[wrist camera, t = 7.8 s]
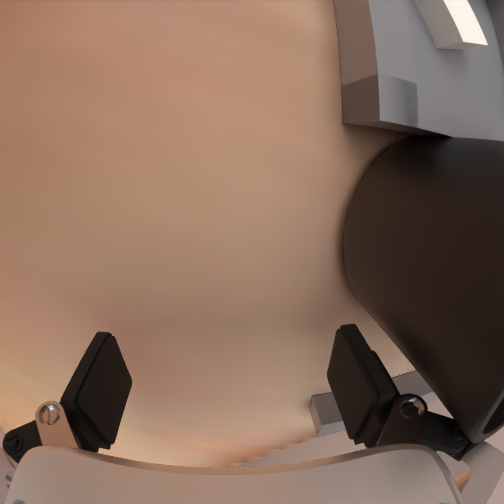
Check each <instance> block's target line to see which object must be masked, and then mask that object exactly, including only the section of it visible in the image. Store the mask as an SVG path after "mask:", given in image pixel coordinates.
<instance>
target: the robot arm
mask: <svg viewBox="0 0 504 504" xmlns="http://www.w3.org/2000/svg"><path fill="white" fill-rule="evenodd" d="M327 378H328V382H329V384H330V387H331V390H332V393H333V395H334V398H335V401H336V403H337V406H338V409H339V412H340V414H341V417H342V420H343V423H344V426H345V428H346V431H347V434H348V437H349V438H350V439H353V440H354V443H355V445H357V444H360V443H364V444H365V446H366V447H367V449H364V450H360V451H355V452H351V453H347V454H342V455H338V456H333V457H328V458H323V459H317V460H311V461H305V462H298V463H291V464H283V465H273V466H261V467H244V468H201V467H183V466H171V465H162V464H154V463H146V462H140V461H134V460H128V459H123V458H118V457H113V456H108V455H103V454H99V453H98V450H99V448H103V449H108V450H110V447H111V444H114V443H115V439H116V436H117V432H118V429H119V425H120V422H121V418H122V415H123V412H124V408H125V405H126V402H127V399H128V395H129V392H130V389H131V386H132V379H131V376H130V374H129V371H128V369H127V367H126V364H125V362H124V359H123V357H122V354H121V351H120V349H119V346H118V344H117V341H116V338H115V337H114V336H112V334H111V333H109V332H97V333H96V335H95V337H94V338H93V340H92V342H91V343H90V345H89V347H88V349H87V350H86V352H85V354H84V356H83V357H82V359H81V361H80V363H79V365H78V367H77V368H76V370H75V372H74V374H73V376H72V378H71V380H70V382H69V384H68V386H67V387H66V389H65V391H64V393H63V395H62V397H61V401H60V403H58V402H55V401H48V402H45V403H43V404H41V405H40V406H39V407H38V409H37V411H36V414H35V417H36V420H34V421H32V422H30V423H27V424H25V425H23V426H21V427H18V428H16V429H13V430H11V431H9V432H8V433H7V434H6V435H5V436H4V439H3V447H2V448H1V447H0V504H486V503H487V501H488V499H489V497H490V496H491V494H492V492H493V490H494V488H495V486H496V485H497V483H498V481H499V479H500V476H501V475H502V473H503V470H504V453H503V452H502V451H500V450H498V449H497V448H495V447H493V446H492V445H490V444H488V443H487V442H485V441H484V440H483V441H481V442H479V443H473V442H471V441H470V440H469V439H468V437H467V436H466V435H465V433H464V432H463V430H462V429H461V428H460V426H459V425H458V423H457V422H456V421H455V419H452V418H448V417H446V416H442V415H439V414H436V413H433V412H430V411H427V410H428V407H427V404H426V402H425V401H424V399H423V398H421V397H420V396H418V395H416V394H411V393H407V394H403V395H401V394H400V392H399V391H398V389H397V387H396V385H395V384H394V382H393V380H392V378H391V377H390V375H389V373H388V372H387V370H386V368H385V367H384V365H383V363H382V362H381V360H380V358H379V357H378V355H377V354H376V352H375V351H371V349H370V347H369V346H368V344H367V342H366V341H365V339H364V337H363V336H362V334H361V332H360V331H359V329H358V328H357V326H356V325H355V324H348V325H342V326H341V327H340V329H337V331H336V335H335V340H334V345H333V350H332V354H331V359H330V363H329V367H328V371H327Z"/></svg>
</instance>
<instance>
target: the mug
mask: <svg viewBox="0 0 504 504" xmlns="http://www.w3.org/2000/svg"><path fill="white" fill-rule="evenodd" d="M344 262H345V270H346V275H347V278H348V281H349V285H350V287H351V289H352V291H353V293H354V295H355V297H356V299H357V300H358V301H359V302H360V304H361V305H362V306H363V307H364V308H365V310H366V311H367V312H368V313H369V314H370V315H371V316H372V318H373V319H374V320H375V321H376V322H377V323H378V324H379V326H380V327H381V328H382V329H383V330H384V331H385V333H386V334H387V335H388V336H389V337H390V339H391V340H392V341H393V342H394V343H395V345H396V346H397V347H398V348H399V349H400V351H401V352H402V353H403V354H404V355H405V357H406V358H407V359H408V360H409V361H410V363H411V364H412V365H413V366H414V368H415V369H416V370H417V371H418V373H419V374H420V375H421V376H422V378H423V379H424V380H425V381H426V383H427V384H428V385H429V386H430V388H431V389H432V390H433V392H434V393H435V394H436V395H437V397H438V398H439V399H440V401H441V402H442V403H443V405H444V406H445V407H446V409H447V410H448V411H449V413H450V414H451V415H452V416H453V418H454V419H455V421H456V422H457V423H458V425H459V426H460V428H461V429H462V430H463V432H464V433H465V435H466V436H467V437H468V439H469V440H470V441H471V442H473V443H479V442H481V441H483V440H485V439H487V438H489V437H490V436H491V435H493V434H494V433H496V432H497V431H498V430H499V429H501V428H502V427H503V426H504V141H499V140H489V139H477V138H461V137H457V138H453V137H412V138H408V139H406V140H403V141H400V142H399V143H397V144H395V145H393V146H392V147H390V148H389V149H387V150H386V151H385V152H384V153H383V154H382V155H381V156H380V157H379V158H378V159H377V160H376V161H375V162H374V163H373V164H372V165H371V167H370V168H369V169H368V171H367V172H366V173H365V174H364V176H363V178H362V180H361V182H360V183H359V185H358V187H357V189H356V191H355V194H354V196H353V199H352V201H351V204H350V207H349V211H348V215H347V219H346V224H345V231H344Z"/></svg>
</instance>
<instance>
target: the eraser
mask: <svg viewBox="0 0 504 504" xmlns="http://www.w3.org/2000/svg"><path fill="white" fill-rule="evenodd" d="M414 2H415V4H416V6H417V7H418V9H419V11H420V13H421V15H422V17H423V19H424V21H425V23H426V25H427V27H428V29H429V31H430V34H431V36H432V38H433V40H434V43H435V45H436V48H442V49H460V50H464V49H469V48H475V47H481V46H488V44H487V41H486V39H485V36H484V34H483V32H482V29H481V27H480V25H479V23H478V21H477V19H476V17H475V15H474V12H473V11H472V9H471V7H470V5H469V3H468V1H467V0H414Z"/></svg>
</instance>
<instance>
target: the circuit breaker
mask: <svg viewBox="0 0 504 504" xmlns="http://www.w3.org/2000/svg"><path fill="white" fill-rule="evenodd" d="M4 436H5V434H4V432H3V431H2V430H1V428H0V447H1V445H2V444H3V439H4ZM2 447H3V446H2ZM2 447H1V448H2Z"/></svg>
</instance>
